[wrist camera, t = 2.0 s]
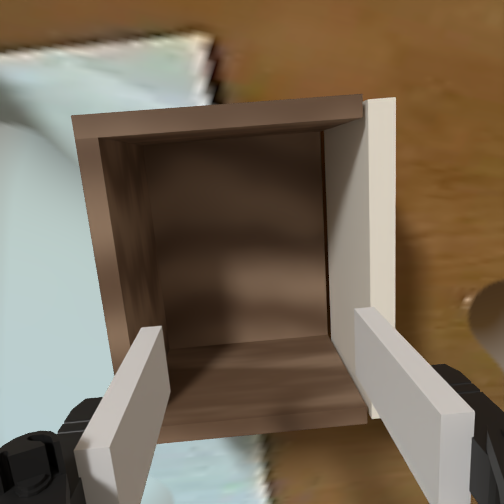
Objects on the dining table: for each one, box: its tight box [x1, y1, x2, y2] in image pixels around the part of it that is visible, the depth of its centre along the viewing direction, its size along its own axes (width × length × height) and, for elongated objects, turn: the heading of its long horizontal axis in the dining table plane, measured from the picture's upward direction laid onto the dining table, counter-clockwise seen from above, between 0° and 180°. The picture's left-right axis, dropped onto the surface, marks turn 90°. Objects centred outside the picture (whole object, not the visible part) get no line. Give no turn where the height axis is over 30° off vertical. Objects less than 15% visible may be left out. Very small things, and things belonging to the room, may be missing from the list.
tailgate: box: [324, 97, 396, 419], centre depth 29 cm, size 19×2×11 cm, turn 4°
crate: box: [71, 94, 367, 444], centre depth 30 cm, size 20×15×12 cm
